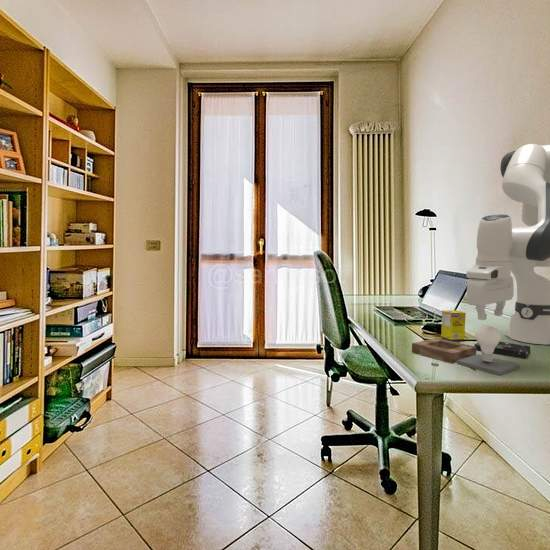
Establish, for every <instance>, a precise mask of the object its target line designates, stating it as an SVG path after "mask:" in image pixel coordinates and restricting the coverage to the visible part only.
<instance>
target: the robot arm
mask: <svg viewBox="0 0 550 550" xmlns="http://www.w3.org/2000/svg"><path fill="white" fill-rule="evenodd" d="M499 170H500V173H501V177H502V183H501V184H502V191H503V193H504V194H505V195H506V196H507V197H508V198H510V199H511V200H513V201H515V202H517V203H521V204H522V209H521V220H522V222H523V224H525V225H526V226H513V224H512V216H510V215H508V214H491V215H485V216H483V217H481V219H480V221H479V225H478V229H477V233H476V234H477V237H476V248H477V256H476V259H475V264H473V266H471V268H469V269H467V271H466V278H468V280H467V282H466V301H467V303H468V305H470V306H475V310H476V313H477V319H478V320H480V321H485V320H487V317H488V314H487V313H486V307H487V305H491V304H496V305H495V309H494V310H493V315H494V316H496V317H500V316H501V317H502V316H503V313H504V312H503V311H504V308H505V306H506V301H511V300H513V297H514V278H515V283H516V301H515V305H514V311H515V313H513V314H512V315H511V316H510V319H509V325H508V326H509V328H508V331H507V332H505V333H504V336H507V337H509V339H511V340H514V341H518V342H521V343H522V342H523V343H528V344H535V345H546V346H547V345H550V279H548V278H546V277H545V276H542V275H540V274H538V273H536V272H535V269H534V268H537V267H539V268H542V267H543V268H550V144H543V145H540V144H538V143H537V144H536V143H526V144H524V145H522V146H520V147H519V148H518V149H516V150H513V151H510V152H508V153H506V154H505V155H504V156H503V157H502V158H501V162H500V167H499ZM511 274H513V276H514V278H513V276H512V275H511Z"/></svg>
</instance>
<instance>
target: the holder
mask: <svg viewBox="0 0 550 550" xmlns="http://www.w3.org/2000/svg"><path fill="white" fill-rule="evenodd" d="M476 350H477V347H475V346H474V345H470V344H465V343H461V342H458V341H449V340H446V339H443V338H441V337H440V338H439V337H434V338H429V339H425V340H421V341H420V340H419V341H417V342H412V343H411V353H414V354H417V355H420V356H425V357H428V358H431V359H434V360H439V361H443V362H446V363H449V364H454V363H457V360H460V359H464V358H467V357H470V356H473V355H477V351H476Z"/></svg>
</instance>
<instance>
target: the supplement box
mask: <svg viewBox="0 0 550 550" xmlns="http://www.w3.org/2000/svg"><path fill="white" fill-rule="evenodd" d="M466 314H467V313H466V312H464V311H459V310H456V309H452V310H450V309H447V310H444V309H443V310H441V327H440V328H441V330H440V331H441V335H440V338H441V337H443V338H444V340H449V341H453V342H465V337H466ZM443 338H442V339H443Z"/></svg>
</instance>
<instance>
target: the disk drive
mask: <svg viewBox="0 0 550 550" xmlns="http://www.w3.org/2000/svg"><path fill="white" fill-rule="evenodd" d="M473 346H475V347H477V350H476V352H481V353H482V351H481V347H480V345H479V343H478V342H477V341H476V343H474V345H473ZM530 353H531V345H525V344H519V343H512V342H506V341H505V342H504V341H500V342H499V344H498V345H497V346H496V347H495V349H494V352H493V354H494V355H500V356H505V357H511V358H516V359H523V360H526V358H527V357H528V356H529V355H530ZM528 354H529V355H528Z"/></svg>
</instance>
